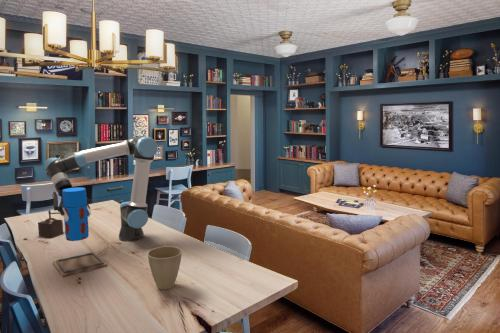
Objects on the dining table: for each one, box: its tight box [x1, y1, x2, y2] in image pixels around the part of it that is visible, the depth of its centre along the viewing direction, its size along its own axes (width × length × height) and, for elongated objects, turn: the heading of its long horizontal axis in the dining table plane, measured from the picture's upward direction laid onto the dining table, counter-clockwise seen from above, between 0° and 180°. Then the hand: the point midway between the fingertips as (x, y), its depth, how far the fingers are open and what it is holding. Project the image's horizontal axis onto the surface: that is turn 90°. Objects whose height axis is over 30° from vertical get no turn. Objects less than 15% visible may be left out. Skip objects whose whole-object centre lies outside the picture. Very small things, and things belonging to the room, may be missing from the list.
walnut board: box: [52, 251, 108, 278], centre depth 192 cm, size 21×21×2 cm
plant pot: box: [147, 245, 183, 290], centre depth 166 cm, size 15×15×16 cm
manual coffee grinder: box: [37, 206, 65, 239], centre depth 242 cm, size 16×11×18 cm
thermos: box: [62, 186, 90, 242], centre depth 188 cm, size 11×11×25 cm
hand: (79, 217), depth 187 cm, fingers closed on thermos, 11 cm apart
